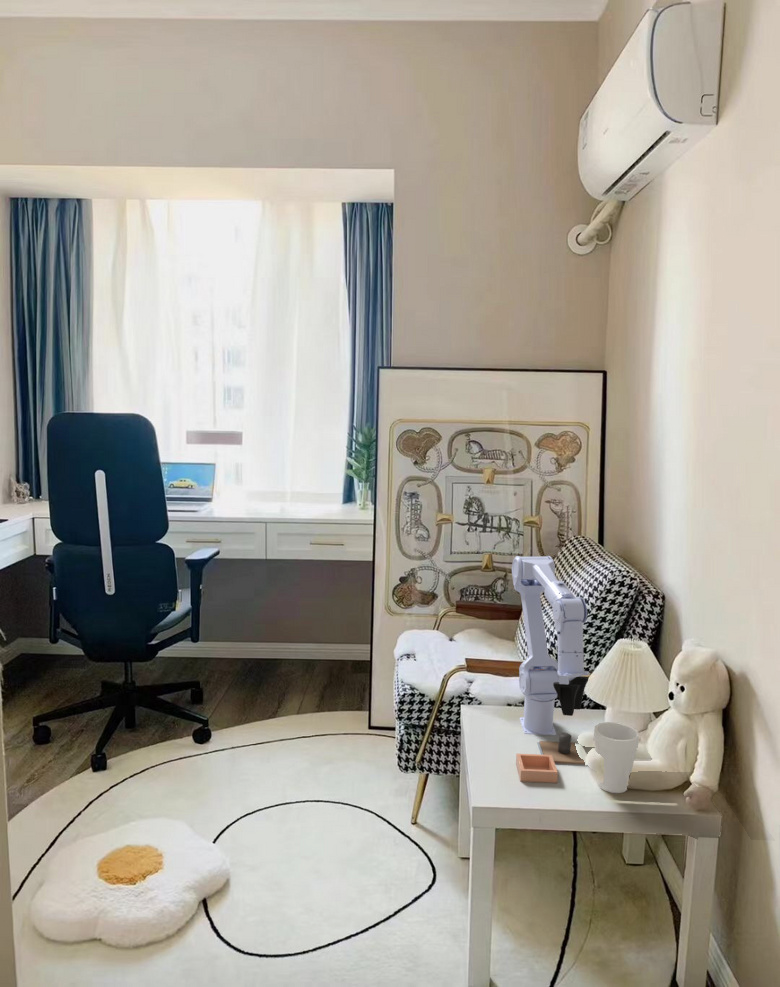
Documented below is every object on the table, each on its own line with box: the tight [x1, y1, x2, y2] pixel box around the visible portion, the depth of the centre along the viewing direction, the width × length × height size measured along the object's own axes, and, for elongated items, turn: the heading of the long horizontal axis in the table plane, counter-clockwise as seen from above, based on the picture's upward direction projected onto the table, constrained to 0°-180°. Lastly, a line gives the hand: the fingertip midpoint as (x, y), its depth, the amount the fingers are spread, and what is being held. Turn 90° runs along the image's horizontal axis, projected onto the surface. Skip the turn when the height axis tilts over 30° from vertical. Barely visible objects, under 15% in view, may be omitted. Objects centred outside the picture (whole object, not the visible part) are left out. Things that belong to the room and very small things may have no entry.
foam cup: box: [593, 721, 640, 794], centre depth 178 cm, size 10×9×13 cm
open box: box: [515, 753, 559, 784], centre depth 183 cm, size 8×8×3 cm
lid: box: [538, 732, 585, 765], centre depth 193 cm, size 10×10×5 cm
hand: (571, 712), depth 186 cm, fingers open, 7 cm apart
